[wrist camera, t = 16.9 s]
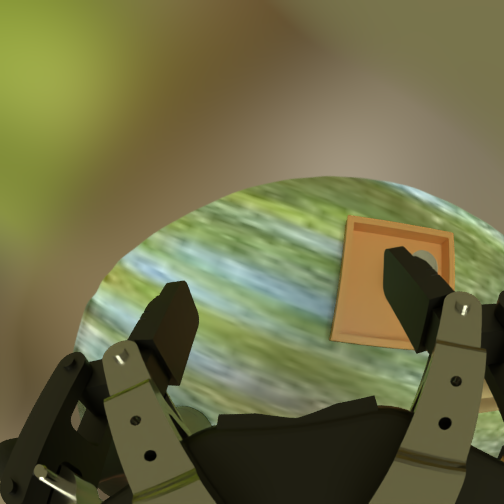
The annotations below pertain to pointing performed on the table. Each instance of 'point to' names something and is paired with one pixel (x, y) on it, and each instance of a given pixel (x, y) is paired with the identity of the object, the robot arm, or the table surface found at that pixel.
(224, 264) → the table surface
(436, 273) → the robot arm
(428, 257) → the white domed cylinder
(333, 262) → the table surface
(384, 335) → the parts tray
